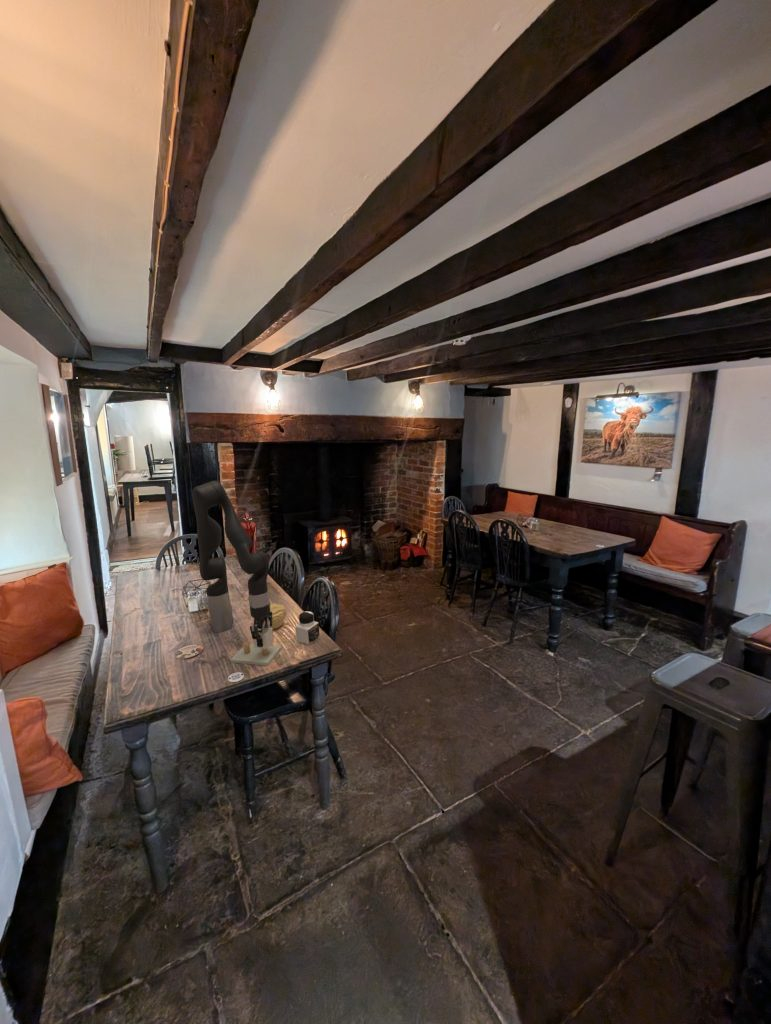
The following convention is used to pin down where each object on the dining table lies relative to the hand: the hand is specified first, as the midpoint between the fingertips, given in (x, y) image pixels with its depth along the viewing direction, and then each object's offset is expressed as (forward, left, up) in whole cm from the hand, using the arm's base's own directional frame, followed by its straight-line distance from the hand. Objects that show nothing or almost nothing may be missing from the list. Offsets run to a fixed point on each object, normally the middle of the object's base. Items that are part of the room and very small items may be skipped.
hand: (263, 642), depth 164 cm
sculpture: (-24, -9, -6) cm, 27 cm away
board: (0, -4, -6) cm, 7 cm away
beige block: (0, 0, -1) cm, 1 cm away
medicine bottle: (-15, +12, -6) cm, 20 cm away
